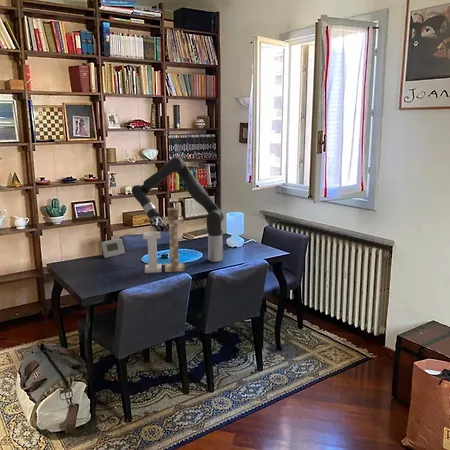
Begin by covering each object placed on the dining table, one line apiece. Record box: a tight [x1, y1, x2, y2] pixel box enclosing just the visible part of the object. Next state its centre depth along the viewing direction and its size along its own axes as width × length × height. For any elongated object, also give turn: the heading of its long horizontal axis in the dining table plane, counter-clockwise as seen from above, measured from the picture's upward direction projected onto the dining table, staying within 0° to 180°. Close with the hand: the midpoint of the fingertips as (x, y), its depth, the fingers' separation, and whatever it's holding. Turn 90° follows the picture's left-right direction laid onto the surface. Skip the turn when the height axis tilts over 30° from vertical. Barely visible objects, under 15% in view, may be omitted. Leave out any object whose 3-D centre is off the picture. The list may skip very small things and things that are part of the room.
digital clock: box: [100, 238, 126, 259], centre depth 314 cm, size 16×9×11 cm, turn 123°
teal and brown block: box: [167, 207, 179, 220], centre depth 284 cm, size 6×20×6 cm, turn 7°
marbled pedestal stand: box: [162, 216, 186, 273], centre depth 283 cm, size 12×10×32 cm
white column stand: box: [142, 231, 163, 274], centre depth 282 cm, size 10×10×23 cm
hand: (163, 231), depth 296 cm, fingers open, 8 cm apart
